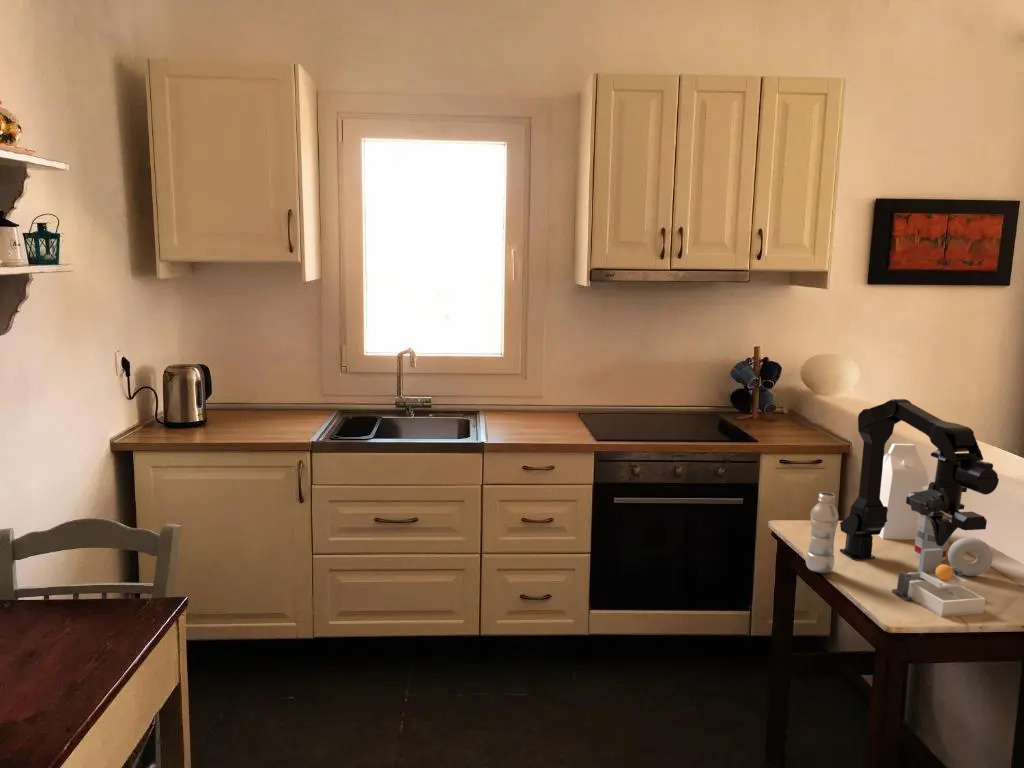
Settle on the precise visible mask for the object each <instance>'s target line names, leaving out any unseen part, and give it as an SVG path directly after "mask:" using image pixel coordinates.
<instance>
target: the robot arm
mask: <svg viewBox="0 0 1024 768" xmlns="http://www.w3.org/2000/svg"><path fill="white" fill-rule="evenodd" d="M900 422H904V423H906V424H907V425H909V426H910V427H913V428H914V429H916V430H918V431H919V432H921V433H922V434H925V435H926V436H927V437H928V438H929V441H930V442H931V444H932V445H933V446H934V447H935V448H937V450H935V451H933V452H930V456H931V457H933V458H936V459H937V462H936V463H937V464H936V470H935V473H936V476H935V482H933V481H930V483H928V486H929V487H928V490H925V491H921V492H910V493H909V494H908V495H907V498H906V504H909V505H911V510H913V511H916V512H918V513H920V514H921V515H925V516H926V517H927V518H928V519H929V520H930V521H931V524H932V527H933V531H934V536H935V540H936V544H937V545H938V546H943V545H944V544H945V542H946V541H947V540H948V541H949V539H950V538H951V536H952V535H953V534H954V532H955V531H956V530H957V529H961V530H963V531H977V530H978V531H979V530H980V531H982V530H986V528H987V523H988V521H987V518H986V516H983V515H981V514H979V513H977V512H974V511H960V510H965V504H963V503H961V501H962V495H963V493H967V491H968V489H969V490H971V491H973V492H977V493H978V494H982V495H986V496H987V495H990V494H992V493H994V491H995V490H996V488H997V487H998V485H999V481H1000V478H999V476H998V473H997V471H996V470H994V469H993V468H994V464H993V463H991V462H989V461H984V457H983V454H982V450H981V449H980V446H979V444H978V441H977V439H976V436H975V434H974V433H975V432H974V431H973V430H972V428H970V427H969V426H965V425H962V424H959V423H955V422H948V421H946V420H942V419H941V418H938V417H937V416H935V415H933V414H931V413H930V412H928V411H926V410H924V409H922V408H920V407H918V406H917V405H915V404H913V403H912V402H911V401H910V400H908V399H905V398H897V399H895V398H892V399H890V400H888V401H886V402H884V403H880V404H879V405H876V406H872V407H870V408H864V409H863V410H861V412H859V414H858V416H857V431H858V433H859V435H860V438H861V439H862V441H863V445H862V446H863V447H862V457H861V458H862V459H861V468H860V469H861V470H860V480H859V489H858V496H857V498H856V499H855V500H854V501H853V503H852V504H851V506H850V512H849V515H848V516H847V517H845V519H843V520H842V521H841V522H840V523H839V524H840V526H839V527H840V532H842V533H845V534H846V538H845V547H844V548H840V549H839V552H841V553H842V554H844V555H846V556H847V557H848V558H850V559H852V560H854V561H859V560H875V559H876V556H875V555H873V554H872V552H873V551H872V550H873V537H874V536H875V535H876V536H878V535H879V534H880V532H881V530H882V528H883V527H884V526H885V522H887V512H888V508H887V507H886V506H883V504H882V502H881V500H880V490H881V480H882V469H883V459H884V455H885V447H886V444H887V442H888V441H889V439H890V438H891V437H892V435H893V432H894V428H895V425H896V424H897V423H900ZM948 511H949V512H948Z"/></svg>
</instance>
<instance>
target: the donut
mask: <svg viewBox="0 0 1024 768" xmlns="http://www.w3.org/2000/svg"><path fill="white" fill-rule="evenodd" d="M971 551H972V552H974V553H975V554H976V559H975V560H974V561H972V562H971V561H970V562H969V561H965V559H964V555H965V554H966V553H967V552H971ZM947 560H948V562H949V565H950V566H951V568H957V569H959V570H961V571H963V572H962V576H967V577H976V576H980V575H982V574H984V573H986V572H987V571H988V570H989V568H991V566H992V564H993V561H994V559H993V551H992V550H991V547H990V546H989V545H988V544H987V543H986V542H985V541H983V540H982V539H980V538H976V537H973V536H969V537H968V536H967V537H966V536H964V537H962V538H958V539H957V540H955V541H954V542H953V543H952V544H951V546H950V547H949V549H948V551H947Z"/></svg>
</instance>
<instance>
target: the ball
mask: <svg viewBox="0 0 1024 768" xmlns="http://www.w3.org/2000/svg"><path fill="white" fill-rule="evenodd" d="M951 568H952V567H950V566H949V565H947V564H945V563H944V564H942V563H941V565H939V566H938V567H937V568H936V571H935V572H936V575H937V577H938V578H940V579H942V580H948V579H950V578H951V577H952V575H953V571H952V569H951Z"/></svg>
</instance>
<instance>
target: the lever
mask: <svg viewBox="0 0 1024 768" xmlns="http://www.w3.org/2000/svg"><path fill="white" fill-rule="evenodd" d="M942 554H943V550H942V549H940V548H932V549H921V555H920V557H919V563H918V570H917V571H916V572H907V573H908V574H910V581H917V580H926V581H928V582H930V583H931V584H933V585H935V586H937V587H938V588H945V587H958V586H963V587H966V586H967V582H968V581H967V580H966V579H963V577H962V578H960V577H958V576H956V575H955V571H954V570H952V571H953V575H952V577H951V578H950V579H948V580H942V579H940V578H938V577H937V575H936V572H935V571H936V568H937V567H938V566H939V565H942V562H943V561H942Z"/></svg>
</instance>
